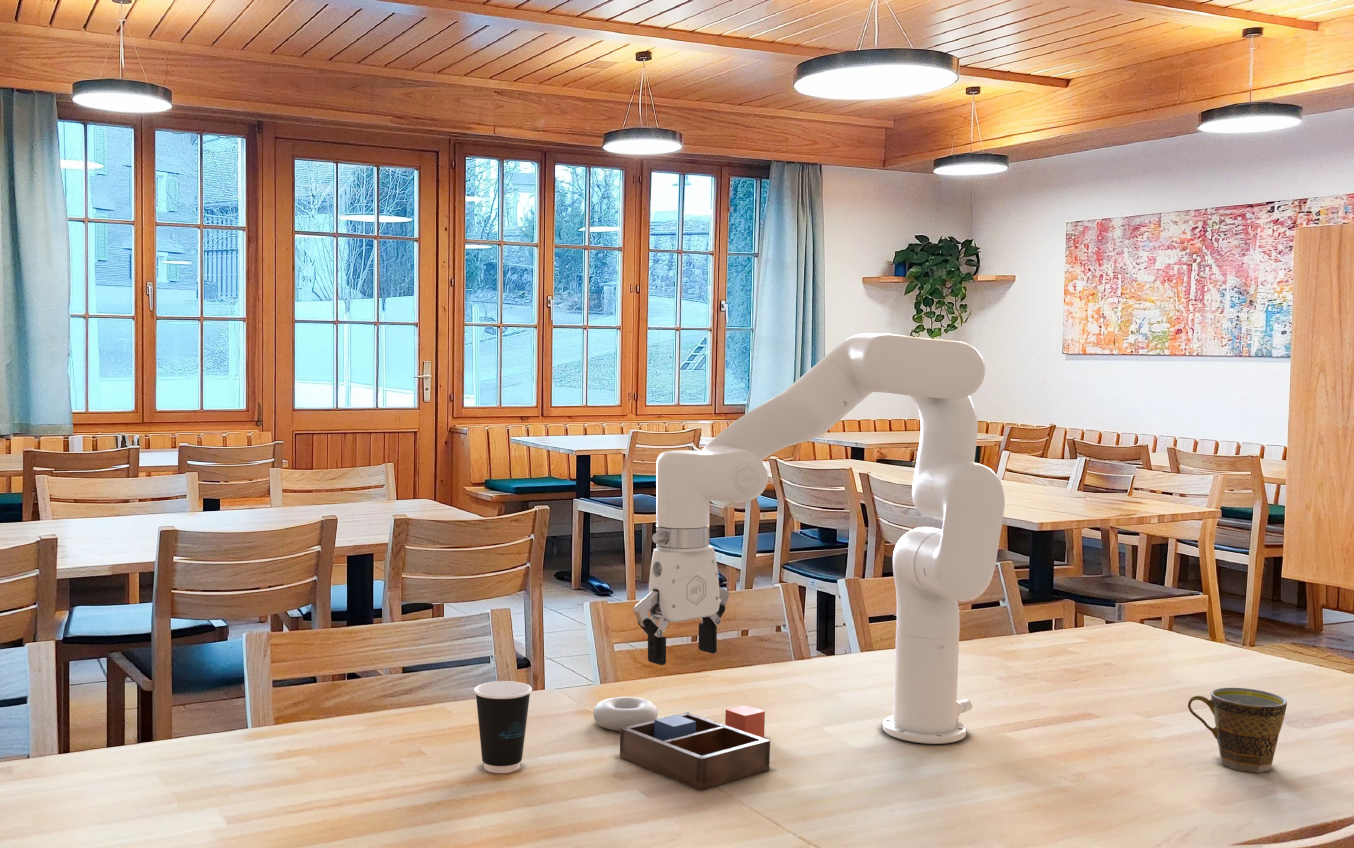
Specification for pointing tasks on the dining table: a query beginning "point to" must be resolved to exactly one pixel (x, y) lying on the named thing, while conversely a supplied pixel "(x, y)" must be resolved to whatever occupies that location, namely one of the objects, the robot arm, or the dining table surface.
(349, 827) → the dining table surface
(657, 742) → the sorting tray
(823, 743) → the dining table surface
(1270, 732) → the ceramic cup
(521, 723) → the dixie cup
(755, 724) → the terracotta block
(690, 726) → the slate block
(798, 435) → the robot arm
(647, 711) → the donut
